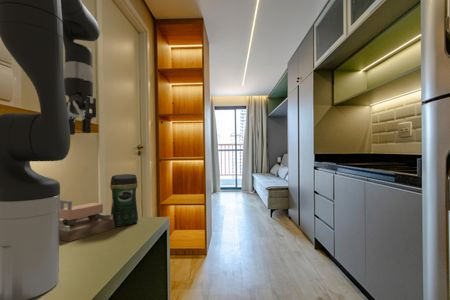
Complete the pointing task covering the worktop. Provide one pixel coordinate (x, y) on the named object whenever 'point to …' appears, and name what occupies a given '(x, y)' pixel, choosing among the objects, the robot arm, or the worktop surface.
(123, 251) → the worktop surface
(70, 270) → the worktop surface
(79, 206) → the tan board with wheels
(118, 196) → the coffee jar
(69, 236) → the dock
